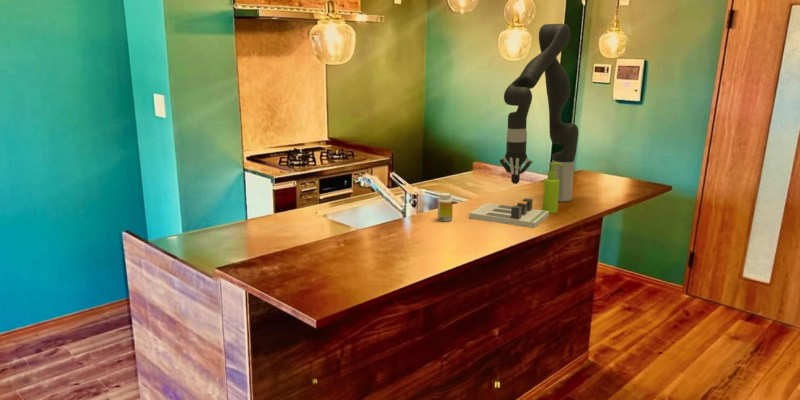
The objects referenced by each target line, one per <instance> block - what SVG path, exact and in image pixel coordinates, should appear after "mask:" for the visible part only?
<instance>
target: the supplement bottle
mask: <svg viewBox="0 0 800 400" xmlns="http://www.w3.org/2000/svg"><path fill="white" fill-rule="evenodd" d="M451 197H452V195H451V193H448V192H441V193H440V194H439V198H438V199H437V220H438V221H440V222H445V223H446V222H451V221H452V220H453V199H452V198H451Z"/></svg>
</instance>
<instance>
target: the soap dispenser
mask: <svg viewBox="0 0 800 400" xmlns="http://www.w3.org/2000/svg"><path fill="white" fill-rule="evenodd" d="M548 165H549V166H550V169H549V170H548V171H547V178H545V179H544V180H543V193H542V195H543V196H542V207H541V208H542V209H541V210H544V211H549V214H556V213H558V209H559V208H558V205H559V201H558V194H559V180H558V179H556V176H557V171H555V165H561V166H563V164H561V163H552V162H548Z"/></svg>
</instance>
